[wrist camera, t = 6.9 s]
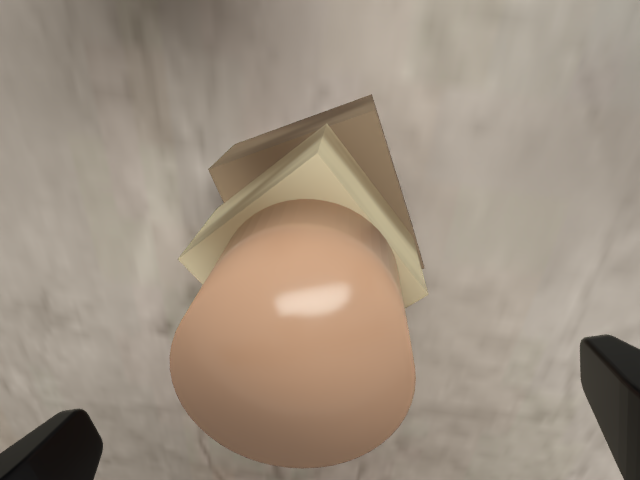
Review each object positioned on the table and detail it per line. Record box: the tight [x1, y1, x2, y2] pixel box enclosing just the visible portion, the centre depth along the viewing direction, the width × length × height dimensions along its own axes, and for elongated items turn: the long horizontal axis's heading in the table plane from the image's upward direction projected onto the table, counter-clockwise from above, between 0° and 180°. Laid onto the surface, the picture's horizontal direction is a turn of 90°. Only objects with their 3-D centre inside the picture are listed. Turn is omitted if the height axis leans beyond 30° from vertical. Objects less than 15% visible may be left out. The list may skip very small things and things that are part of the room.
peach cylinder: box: [170, 199, 416, 468], centre depth 11 cm, size 5×5×4 cm
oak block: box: [178, 124, 428, 308], centre depth 15 cm, size 5×5×4 cm
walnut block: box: [208, 95, 424, 269], centre depth 19 cm, size 6×6×4 cm
